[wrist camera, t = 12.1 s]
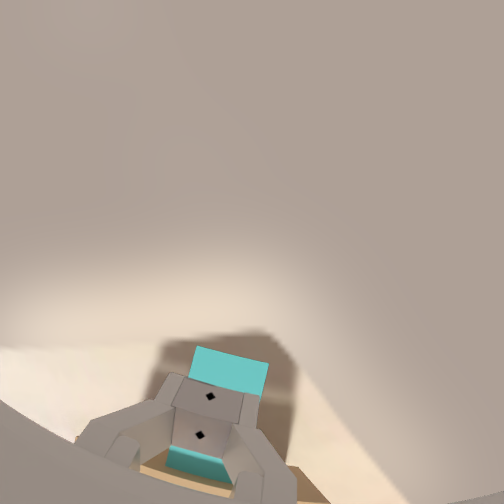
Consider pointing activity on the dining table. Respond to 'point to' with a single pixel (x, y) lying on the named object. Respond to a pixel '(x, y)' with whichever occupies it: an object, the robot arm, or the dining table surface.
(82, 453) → the robot arm
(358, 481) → the dining table surface
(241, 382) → the hinged cardboard lid
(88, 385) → the dining table surface
